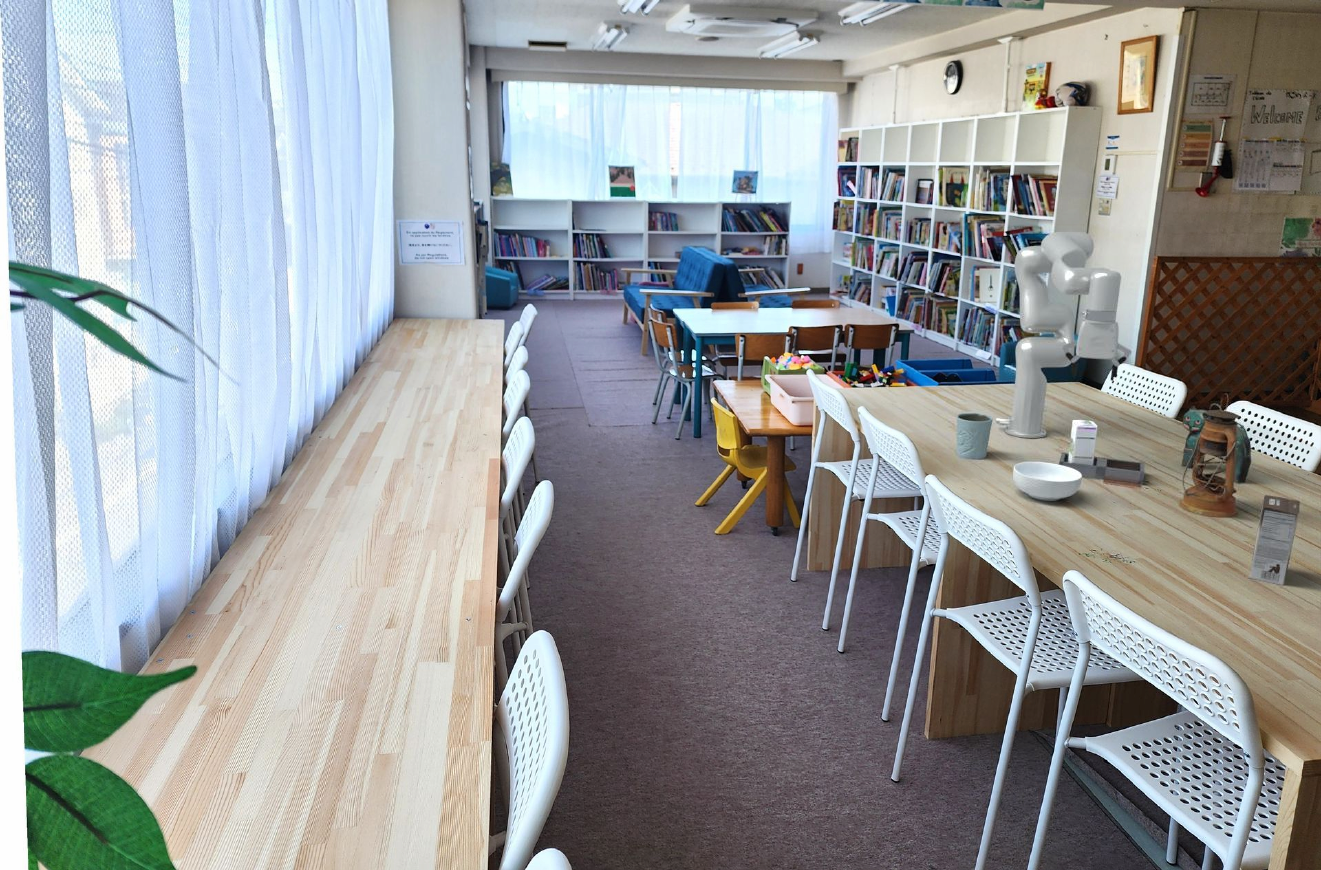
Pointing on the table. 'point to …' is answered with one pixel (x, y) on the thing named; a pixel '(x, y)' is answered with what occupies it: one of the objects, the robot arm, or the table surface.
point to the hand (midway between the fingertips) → (1092, 378)
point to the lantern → (1209, 489)
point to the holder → (1109, 470)
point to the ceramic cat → (1194, 425)
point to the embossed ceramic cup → (973, 435)
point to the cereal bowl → (1046, 480)
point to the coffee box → (1274, 539)
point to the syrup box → (1082, 442)
